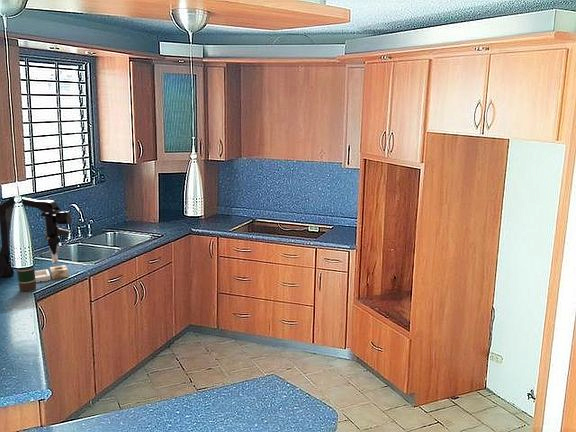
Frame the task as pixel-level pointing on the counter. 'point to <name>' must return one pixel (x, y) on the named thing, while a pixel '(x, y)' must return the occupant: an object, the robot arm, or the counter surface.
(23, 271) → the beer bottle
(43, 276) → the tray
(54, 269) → the hitch block
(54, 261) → the steel pin
